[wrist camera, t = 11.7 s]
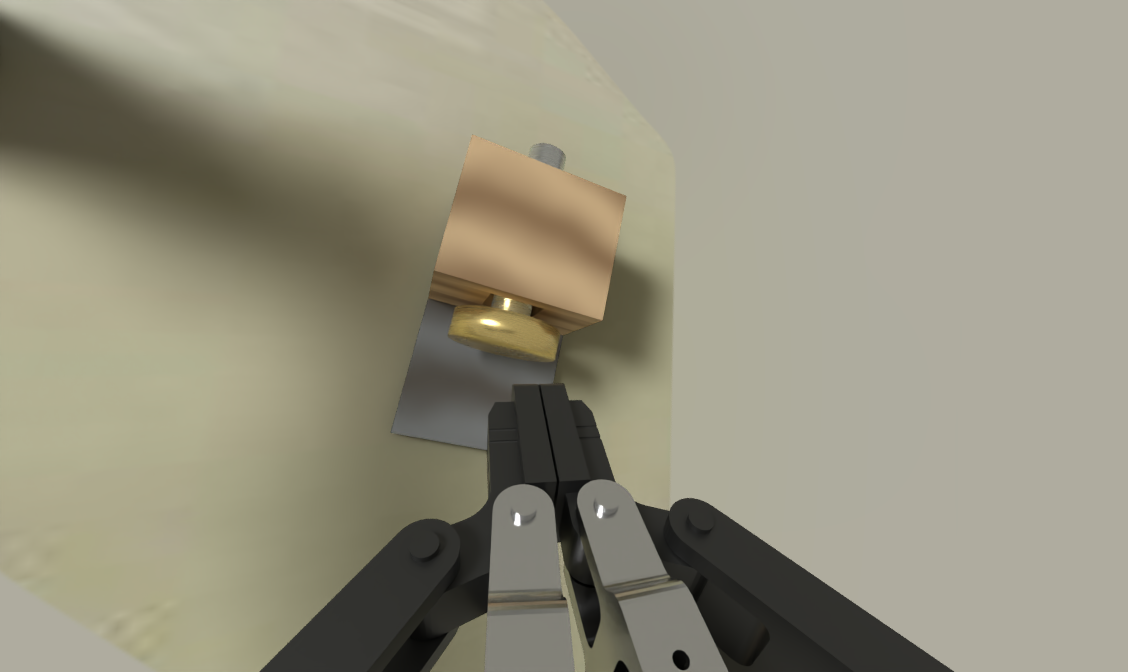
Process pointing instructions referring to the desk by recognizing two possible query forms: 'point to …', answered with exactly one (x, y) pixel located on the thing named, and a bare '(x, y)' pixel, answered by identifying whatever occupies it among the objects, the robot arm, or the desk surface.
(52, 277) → the desk surface
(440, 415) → the bearing block
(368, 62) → the desk surface
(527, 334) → the shaft
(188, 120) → the desk surface
